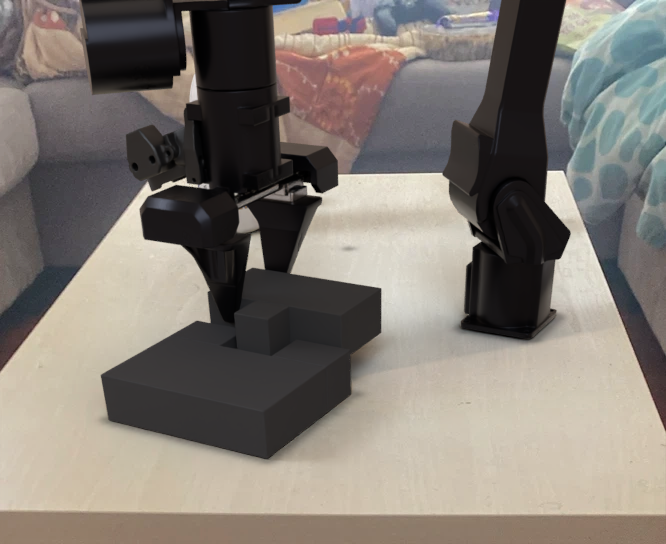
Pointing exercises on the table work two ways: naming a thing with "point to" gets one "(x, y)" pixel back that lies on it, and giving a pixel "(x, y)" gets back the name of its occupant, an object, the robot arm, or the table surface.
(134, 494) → the table surface
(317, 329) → the black t-shaped block
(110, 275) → the table surface
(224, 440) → the charcoal pad
